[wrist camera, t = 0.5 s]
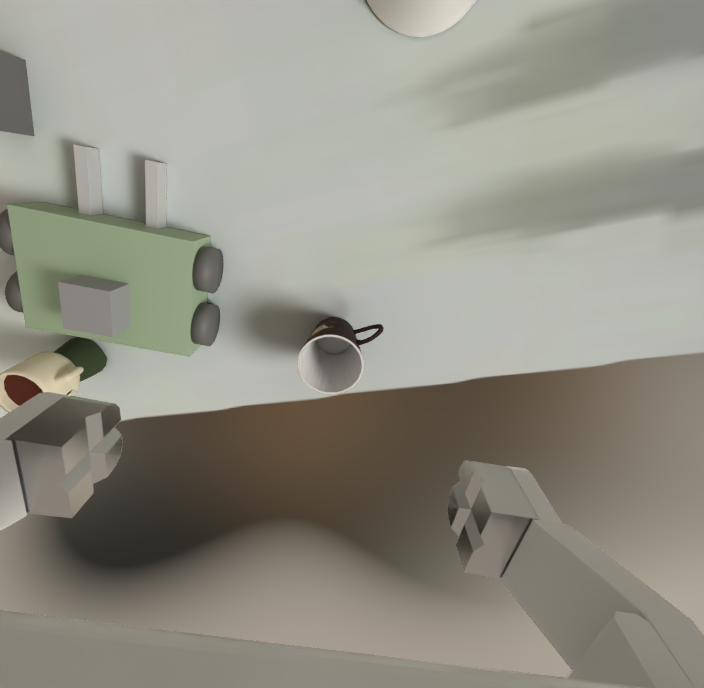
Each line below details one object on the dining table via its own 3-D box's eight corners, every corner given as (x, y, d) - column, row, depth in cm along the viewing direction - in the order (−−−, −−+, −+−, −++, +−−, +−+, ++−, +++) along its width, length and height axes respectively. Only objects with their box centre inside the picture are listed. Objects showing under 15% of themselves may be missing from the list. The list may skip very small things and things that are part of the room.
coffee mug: (310, 364, 59) (302, 396, 50) (302, 313, 55) (292, 337, 46) (383, 357, 58) (389, 389, 49) (379, 305, 55) (384, 329, 46)
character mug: (71, 381, 60) (1, 429, 48) (45, 343, 57) (-36, 383, 46) (131, 364, 59) (74, 409, 47) (107, 324, 56) (40, 360, 44)
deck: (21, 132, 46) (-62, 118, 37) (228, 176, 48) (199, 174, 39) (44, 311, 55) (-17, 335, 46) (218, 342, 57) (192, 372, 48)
